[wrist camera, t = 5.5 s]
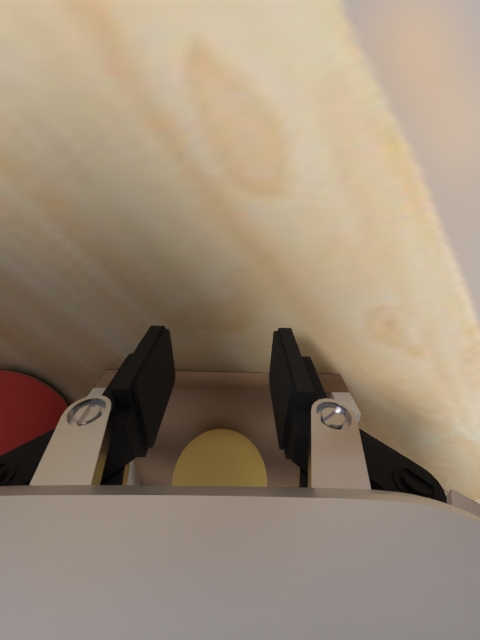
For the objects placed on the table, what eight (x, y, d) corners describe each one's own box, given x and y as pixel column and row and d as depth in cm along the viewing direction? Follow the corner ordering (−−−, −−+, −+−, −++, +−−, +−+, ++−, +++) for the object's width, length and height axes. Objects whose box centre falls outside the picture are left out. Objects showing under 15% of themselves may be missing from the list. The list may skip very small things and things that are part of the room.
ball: (179, 408, 14) (151, 509, 10) (265, 410, 14) (278, 510, 10) (185, 461, 16) (166, 562, 12) (260, 462, 16) (267, 562, 12)
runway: (106, 369, 15) (49, 447, 10) (339, 374, 15) (382, 452, 10) (153, 529, 24) (134, 606, 20) (295, 531, 24) (307, 607, 20)
